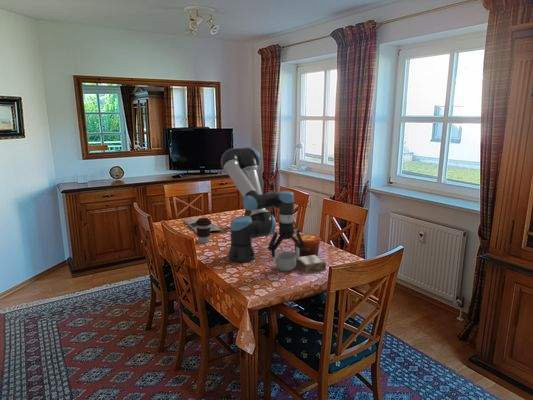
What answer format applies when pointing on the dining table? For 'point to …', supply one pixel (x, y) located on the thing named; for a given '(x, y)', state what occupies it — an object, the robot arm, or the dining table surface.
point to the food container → (309, 244)
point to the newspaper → (193, 225)
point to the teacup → (286, 261)
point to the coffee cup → (203, 230)
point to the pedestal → (311, 263)
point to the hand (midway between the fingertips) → (286, 260)
